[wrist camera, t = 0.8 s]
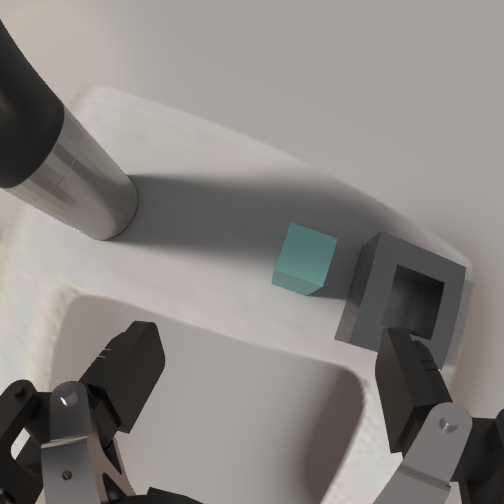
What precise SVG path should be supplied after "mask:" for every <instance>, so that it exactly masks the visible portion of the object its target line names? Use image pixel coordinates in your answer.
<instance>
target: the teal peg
mask: <svg viewBox="0 0 504 504" xmlns="http://www.w3.org/2000/svg"><path fill="white" fill-rule="evenodd" d="M337 240H338V238H335V237H332V236H329V235H326V234H324V233H321V232H318V231H315V230H312V229H309V228H307V227H304V226H301V225H298V224H295V223H292V222H290V225H289V228H288V231H287V234H286V237H285V240H284V243H283V245H282V248H281V251H280V254H279V257H278V260H277V262H276V265H275V268H274V273H273V279H272V284H274V285H276V286H279V287H282V288H285V289H288V290H291V291H294V292H296V293H299V294H302V295H305V296H307V295H309V294H311V293H312V292H314V291H316V290H318V289H319V288H321V287H323V285H324V282H325V279H326V276H327V273H328V270H329V267H330V263H331V260H332V257H333V254H334V250H335V247H336V244H337Z"/></svg>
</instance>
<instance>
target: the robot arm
mask: <svg viewBox="0 0 504 504" xmlns="http://www.w3.org/2000/svg"><path fill="white" fill-rule="evenodd" d="M0 188H2V189H4V190H5V191H7V192H9V193H10V194H12V195H14V196H16V197H17V198H19V199H21V200H23V201H25V202H26V203H28V204H30V205H32V206H33V207H35V208H37V209H39V210H41V211H42V212H44V213H46V214H48V215H50V216H51V217H53V218H55V219H57V220H59V221H61V222H63V223H64V224H66V225H68V226H70V227H72V228H74V229H75V230H77V231H79V232H81V233H83V234H85V235H87V236H89V237H91V238H93V239H97V240H106V239H110V238H113V237H115V236H116V235H118V234H120V233H121V232H122V231H123V230H124V229H125V228H126V227H127V226H128V225H129V223H130V222H131V220H132V218H133V216H134V214H135V211H136V209H137V203H138V194H137V190H136V187H135V185H134V183H133V182H132V181H131V180H130V179H129V177H128V176H127V175H126V174H125V173H124V172H123V171H122V170H121V169H120V167H119V166H118V165H117V164H116V163H115V162H114V161H113V160H112V158H111V157H110V156H109V155H108V154H107V153H106V152H105V151H104V149H103V148H102V147H101V146H100V145H99V144H98V143H97V142H96V141H95V139H94V138H93V137H92V136H91V135H90V134H89V133H88V131H87V130H86V129H85V128H84V127H83V126H82V125H81V123H80V122H79V121H78V120H77V119H76V118H75V117H74V116H73V114H72V113H71V112H70V111H69V110H68V109H67V107H66V106H65V105H64V104H63V103H62V102H61V100H60V99H59V98H58V97H57V96H56V95H55V94H54V92H53V91H52V90H51V89H50V88H49V87H48V85H46V83H45V82H44V81H43V80H42V78H41V77H40V76H39V75H38V73H37V72H36V71H35V70H34V68H33V67H32V66H31V65H30V63H29V62H28V61H27V60H26V58H25V57H24V55H23V54H22V52H21V51H20V49H19V48H18V47H17V45H16V44H15V42H14V41H13V39H12V37H11V36H10V35H9V33H8V31H7V30H6V28H5V26H4V25H3V23H2V21H1V20H0ZM164 366H165V355H164V350H163V347H162V344H161V340H160V336H159V332H158V329H157V326H156V324H155V323H153V322H144V321H134V322H133V323H132V324H131V325H130V326H129V328H128V329H127V330H126V331H125V332H122V333H121V334H119V335H118V336H116V337H115V338H113V339H112V340H111V341H110V342H109V343H108V345H107V346H106V347H105V350H103V351H102V352H101V353H100V355H99V357H97V358H96V359H95V361H94V362H93V363H92V364H91V366H90V367H89V368H88V369H87V371H86V372H85V374H83V376H82V377H81V378H80V380H79V381H78V382H77V381H69V382H65V383H62V384H60V385H59V386H57V387H56V388H55V389H54V390H53V392H37V390H36V389H35V387H34V386H33V384H32V383H31V382H30V381H28V380H18V381H15V382H13V383H12V384H10V385H9V386H8V387H7V388H6V390H5V391H4V392H3V393H2V395H1V396H0V504H35V503H36V501H37V499H38V497H39V495H40V493H41V491H42V489H43V487H44V493H45V501H46V504H203V503H200V502H198V501H196V500H193V499H191V498H189V497H187V496H184V495H180V494H175V493H171V492H167V491H163V490H159V489H155V488H152V487H149V490H148V492H147V495H136V493H135V492H134V490H133V488H132V486H131V485H130V483H129V481H128V478H127V475H126V472H125V469H124V465H123V462H122V459H121V455H120V452H119V448H118V444H117V441H116V438H115V437H114V435H115V434H116V432H117V430H118V431H121V432H124V433H128V434H129V433H130V431H131V429H132V428H133V426H134V424H135V422H136V420H137V418H138V416H139V414H140V412H141V411H142V409H143V407H144V405H145V403H146V401H147V399H148V397H149V396H150V394H151V392H152V390H153V388H154V386H155V384H156V383H157V381H158V379H159V377H160V375H161V374H162V372H163V370H164ZM375 377H376V382H377V386H378V391H379V395H380V400H381V405H382V409H383V414H384V419H385V424H386V429H387V435H388V440H389V446H390V452H391V453H397V452H402V456H403V460H402V462H401V464H400V465H399V467H398V468H397V470H396V471H395V473H394V474H393V476H392V477H391V479H390V480H389V482H388V483H387V485H386V486H385V487H384V489H383V490H382V492H381V493H380V494H379V496H378V497H377V498H376V500H375V501H374V502H373V504H444V503H445V501H446V499H447V497H448V495H449V492H450V489H451V486H449V482H450V481H451V482H458V483H459V488H460V494H461V500H462V504H504V409H502V410H501V411H500V412H499V414H498V415H497V417H496V418H495V419H488V418H473V417H471V415H470V414H469V412H468V411H467V410H466V409H465V408H464V407H463V406H461V405H459V404H455V403H453V402H452V399H451V397H450V395H449V392H448V390H447V387H446V385H445V383H444V381H443V378H442V376H441V374H440V372H439V371H438V367H437V365H436V363H435V362H434V359H433V357H432V354H431V352H430V350H429V349H428V348H427V347H426V346H425V345H424V344H423V343H422V342H421V341H419V340H415V341H412V339H411V337H410V335H409V332H408V330H407V328H406V327H392V328H384V329H383V332H382V336H381V341H380V346H379V351H378V355H377V359H376V365H375ZM23 428H25V430H26V431H27V432H28V433H29V435H30V437H29V439H28V440H27V442H26V444H25V445H24V447H23V448H22V450H21V451H20V453H19V455H18V456H17V458H16V460H15V459H14V458H13V457H12V455H11V446H12V444H13V443H14V441H15V440H16V438H17V437H18V435H19V434H20V432H21V431H22V429H23Z"/></svg>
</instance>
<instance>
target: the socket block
mask: <svg viewBox="0 0 504 504" xmlns="http://www.w3.org/2000/svg"><path fill="white" fill-rule="evenodd" d="M465 271H466V267H464V266H462V265H459V264H457V263H455V262H453V261H450V260H448V259H446V258H444V257H441V256H439V255H437V254H434V253H432V252H430V251H427V250H425V249H422V248H420V247H418V246H415V245H413V244H410V243H408V242H406V241H403V240H401V239H398V238H396V237H393V236H391V235H388V234H385V233H383V232H380V233H378V234H377V235H376V236H375V237H373V238H372V239H371V240H370V241H368V242H367V243H366V244H365V245H363V247H362V251H361V254H360V258H359V262H358V265H357V269H356V272H355V276H354V279H353V282H352V286H351V289H350V292H349V295H348V299H347V302H346V305H345V308H344V311H343V314H342V317H341V320H340V323H339V326H338V329H337V332H336V335H335V338H334V339H335V340H339V341H342V342H345V343H348V344H351V345H355V346H358V347H361V348H364V349H368V350H371V351H374V352H378V351H379V346H380V341H381V336H382V332H383V329H384V328H392V327H406V328H407V330H408V332H409V335H410V337H411V339H412V341H415V340H419V341H421V342H422V343H423V344H424V345H425V346H426V347H427V348H428V349H429V350H430V352H431V354H432V357H433V359H434V362H435V363H436V365H437V367H438V369H441V370H442V366H443V363H444V360H445V357H446V354H447V350H448V347H449V343H450V340H451V336H452V332H453V329H454V325H455V321H456V316H457V312H458V308H459V303H460V298H461V293H462V288H463V283H464V277H465Z"/></svg>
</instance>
